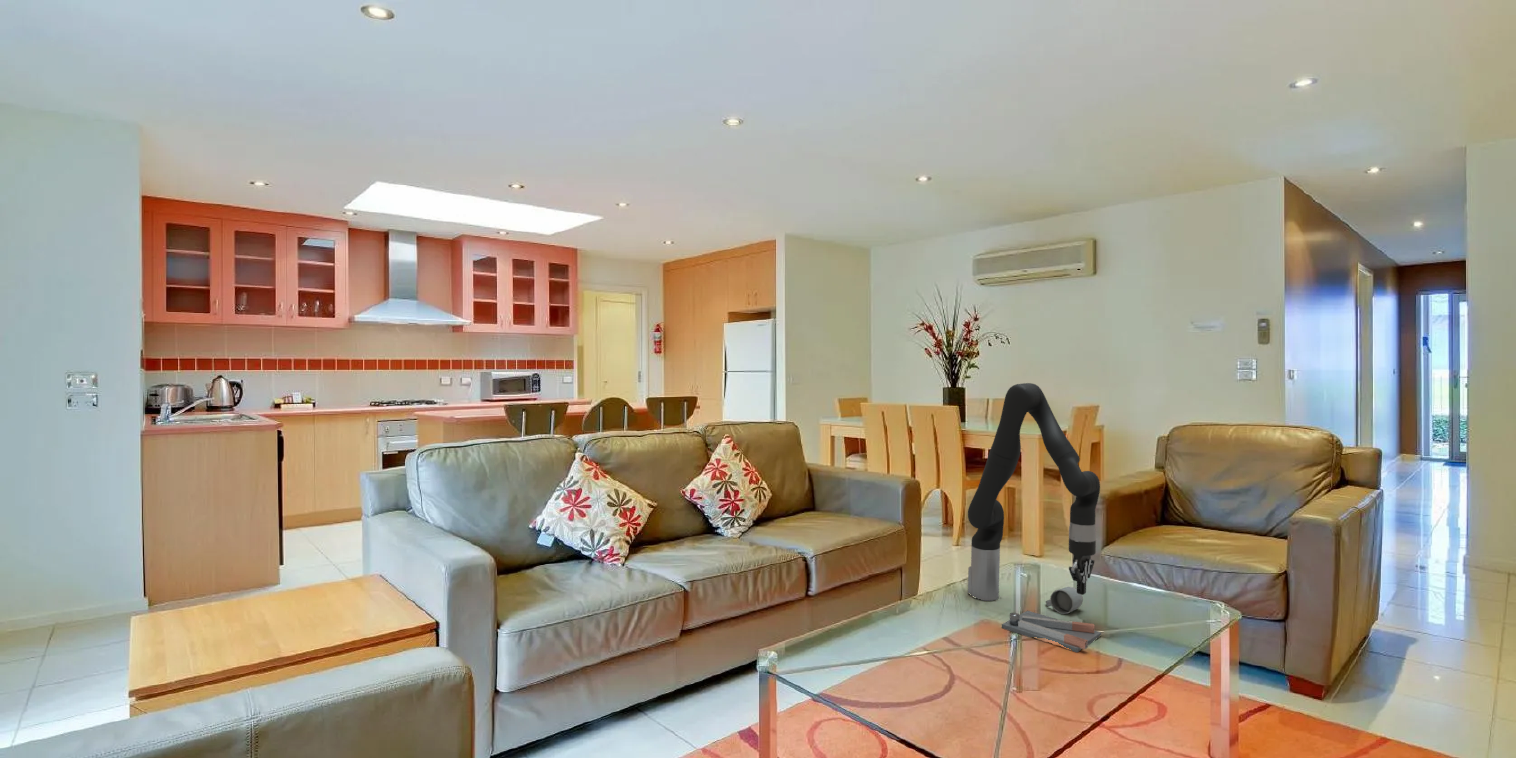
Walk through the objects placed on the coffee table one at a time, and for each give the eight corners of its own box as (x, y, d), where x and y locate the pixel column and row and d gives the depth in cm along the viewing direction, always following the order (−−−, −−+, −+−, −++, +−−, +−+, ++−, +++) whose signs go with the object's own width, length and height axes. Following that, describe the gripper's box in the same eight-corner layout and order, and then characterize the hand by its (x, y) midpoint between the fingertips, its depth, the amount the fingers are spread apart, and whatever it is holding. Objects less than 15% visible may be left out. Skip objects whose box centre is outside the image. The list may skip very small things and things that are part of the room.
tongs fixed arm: (1006, 624, 224) (1007, 614, 224) (1012, 621, 227) (1012, 611, 227) (1084, 649, 207) (1085, 638, 207) (1090, 645, 209) (1090, 635, 209)
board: (1001, 628, 225) (1001, 624, 225) (1027, 614, 235) (1027, 610, 235) (1077, 652, 208) (1077, 648, 208) (1101, 636, 219) (1101, 632, 219)
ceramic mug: (1084, 610, 238) (1084, 587, 238) (1072, 617, 233) (1072, 593, 233) (1052, 602, 246) (1053, 579, 246) (1040, 608, 241) (1040, 585, 241)
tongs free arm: (1022, 624, 224) (1022, 617, 224) (1022, 621, 226) (1022, 615, 226) (1094, 633, 218) (1094, 626, 217) (1093, 630, 219) (1093, 623, 219)
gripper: (1079, 531, 231) (1078, 585, 232) (1060, 539, 222) (1059, 595, 223) (1104, 535, 226) (1102, 591, 227) (1085, 544, 217) (1084, 602, 218)
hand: (1081, 593), depth 225 cm, fingers closed
